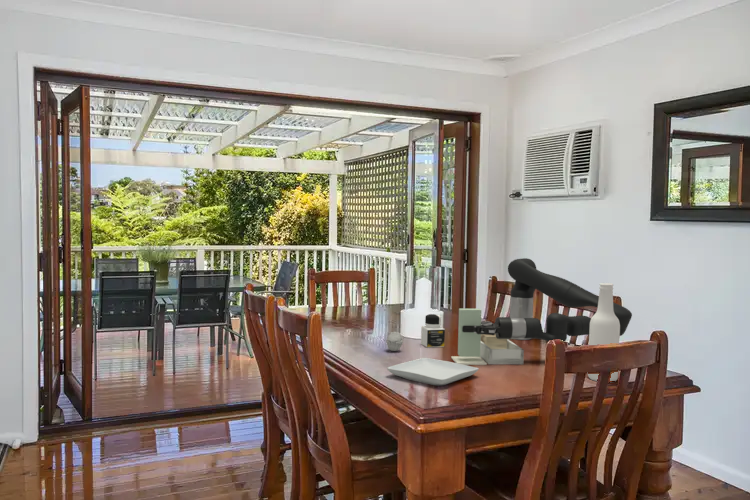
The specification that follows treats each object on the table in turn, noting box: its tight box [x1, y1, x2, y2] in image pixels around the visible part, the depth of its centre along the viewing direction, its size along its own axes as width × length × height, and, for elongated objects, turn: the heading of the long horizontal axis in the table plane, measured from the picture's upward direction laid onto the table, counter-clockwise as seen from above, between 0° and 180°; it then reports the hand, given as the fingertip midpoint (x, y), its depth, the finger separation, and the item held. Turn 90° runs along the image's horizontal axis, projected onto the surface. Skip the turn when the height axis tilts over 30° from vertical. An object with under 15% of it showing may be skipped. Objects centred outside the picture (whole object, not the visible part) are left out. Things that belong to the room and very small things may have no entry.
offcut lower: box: [482, 341, 507, 349], centre depth 222 cm, size 6×8×2 cm
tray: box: [480, 339, 525, 365], centre depth 216 cm, size 20×12×5 cm, turn 5°
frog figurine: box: [386, 331, 404, 352], centre depth 223 cm, size 6×7×7 cm
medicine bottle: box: [420, 313, 446, 349], centre depth 234 cm, size 7×7×12 cm
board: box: [457, 308, 482, 358], centre depth 208 cm, size 4×7×16 cm, turn 95°
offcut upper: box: [481, 334, 507, 343], centre depth 222 cm, size 6×8×2 cm
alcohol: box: [587, 282, 621, 382], centre depth 188 cm, size 9×9×30 cm
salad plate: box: [386, 357, 480, 387], centre depth 188 cm, size 21×21×3 cm
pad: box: [450, 355, 488, 366], centre depth 209 cm, size 10×10×1 cm
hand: (461, 327), depth 208 cm, fingers closed on board, 3 cm apart
